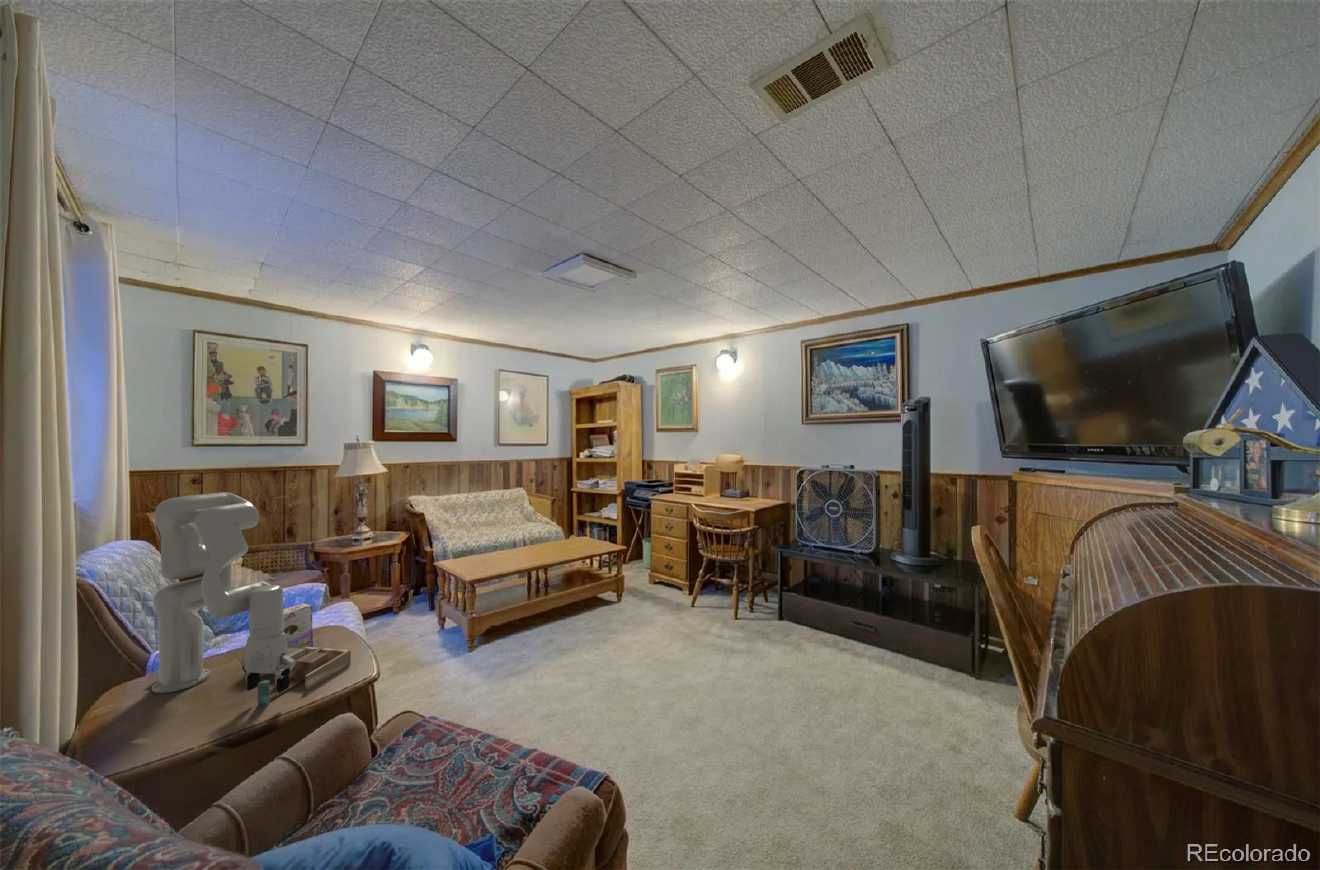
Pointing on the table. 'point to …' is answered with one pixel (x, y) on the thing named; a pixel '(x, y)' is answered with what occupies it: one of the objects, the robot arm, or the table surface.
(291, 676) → the lane organizer
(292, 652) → the grey block
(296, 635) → the candy box
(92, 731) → the table surface
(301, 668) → the tethered block
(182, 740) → the table surface
